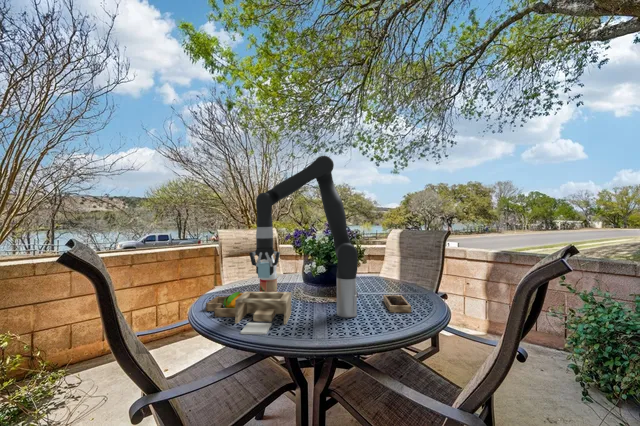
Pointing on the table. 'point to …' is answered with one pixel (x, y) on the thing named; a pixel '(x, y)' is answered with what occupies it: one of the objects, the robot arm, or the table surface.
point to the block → (264, 270)
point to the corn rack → (220, 307)
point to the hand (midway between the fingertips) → (264, 274)
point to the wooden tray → (397, 307)
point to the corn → (231, 300)
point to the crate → (263, 305)
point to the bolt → (396, 301)
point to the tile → (256, 328)
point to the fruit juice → (269, 280)
